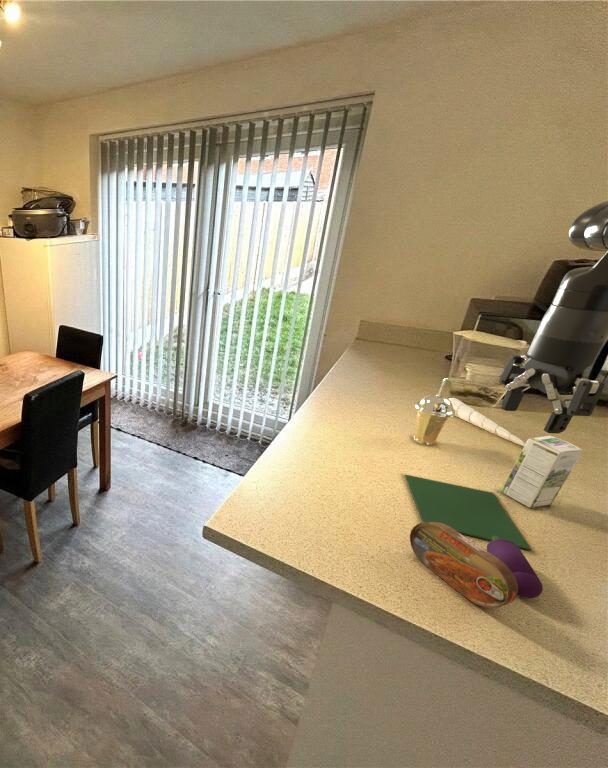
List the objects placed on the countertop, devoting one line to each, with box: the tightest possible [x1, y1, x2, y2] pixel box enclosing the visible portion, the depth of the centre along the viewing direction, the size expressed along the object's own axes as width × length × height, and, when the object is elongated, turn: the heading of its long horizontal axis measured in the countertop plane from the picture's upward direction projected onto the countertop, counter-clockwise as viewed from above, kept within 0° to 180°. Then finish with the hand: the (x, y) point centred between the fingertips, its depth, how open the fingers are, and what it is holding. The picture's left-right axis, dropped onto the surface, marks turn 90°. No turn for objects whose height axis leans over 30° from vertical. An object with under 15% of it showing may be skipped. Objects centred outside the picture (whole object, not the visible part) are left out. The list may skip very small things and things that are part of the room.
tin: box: [409, 522, 518, 609], centre depth 66 cm, size 15×3×8 cm, turn 13°
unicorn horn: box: [448, 397, 526, 447], centre depth 113 cm, size 5×24×5 cm, turn 4°
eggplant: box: [486, 536, 544, 599], centre depth 68 cm, size 4×13×4 cm, turn 154°
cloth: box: [404, 474, 531, 552], centre depth 83 cm, size 16×18×1 cm
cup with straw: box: [412, 377, 474, 446], centre depth 104 cm, size 8×9×20 cm
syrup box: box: [501, 435, 584, 509], centre depth 83 cm, size 6×6×14 cm
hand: (528, 420), depth 71 cm, fingers open, 8 cm apart
